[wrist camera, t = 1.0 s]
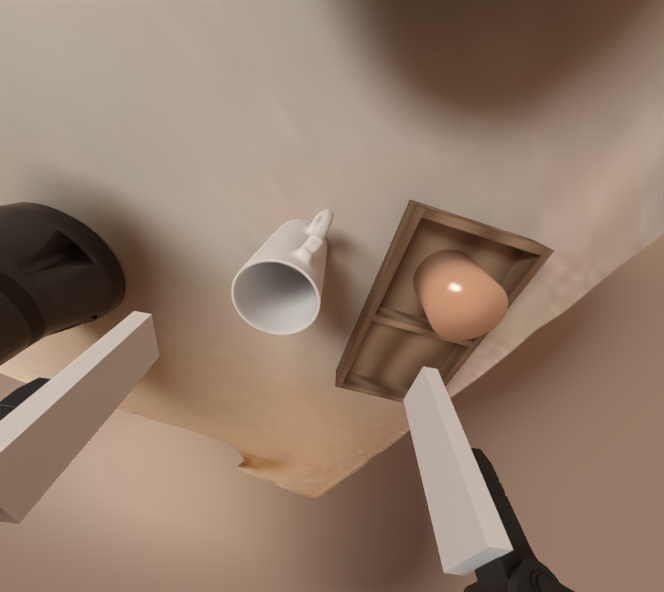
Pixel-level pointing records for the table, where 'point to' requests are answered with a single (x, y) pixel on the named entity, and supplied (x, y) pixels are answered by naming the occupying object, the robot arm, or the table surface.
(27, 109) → the table surface
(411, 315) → the divided wooden tray
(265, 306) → the mug
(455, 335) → the brown egg
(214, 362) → the table surface
